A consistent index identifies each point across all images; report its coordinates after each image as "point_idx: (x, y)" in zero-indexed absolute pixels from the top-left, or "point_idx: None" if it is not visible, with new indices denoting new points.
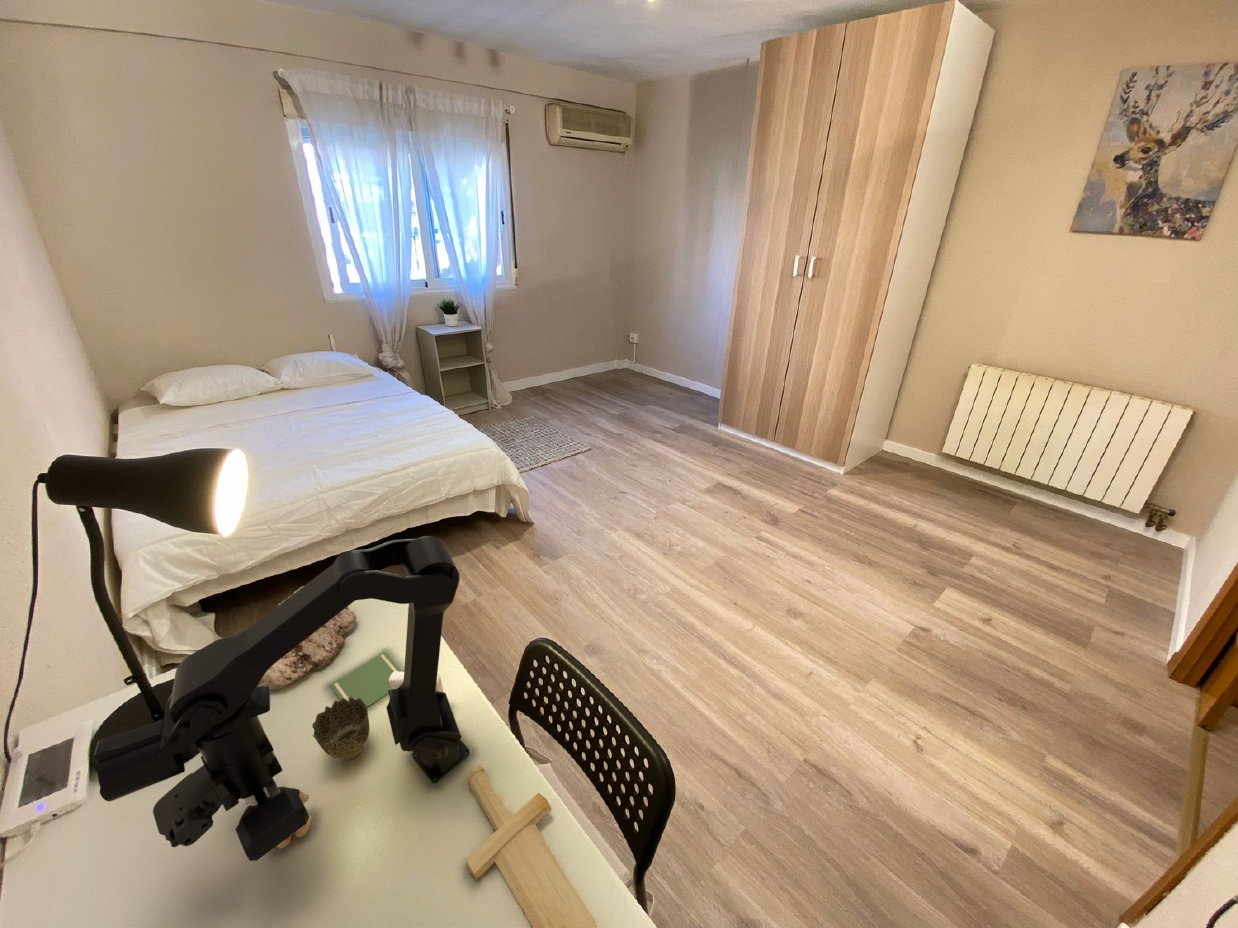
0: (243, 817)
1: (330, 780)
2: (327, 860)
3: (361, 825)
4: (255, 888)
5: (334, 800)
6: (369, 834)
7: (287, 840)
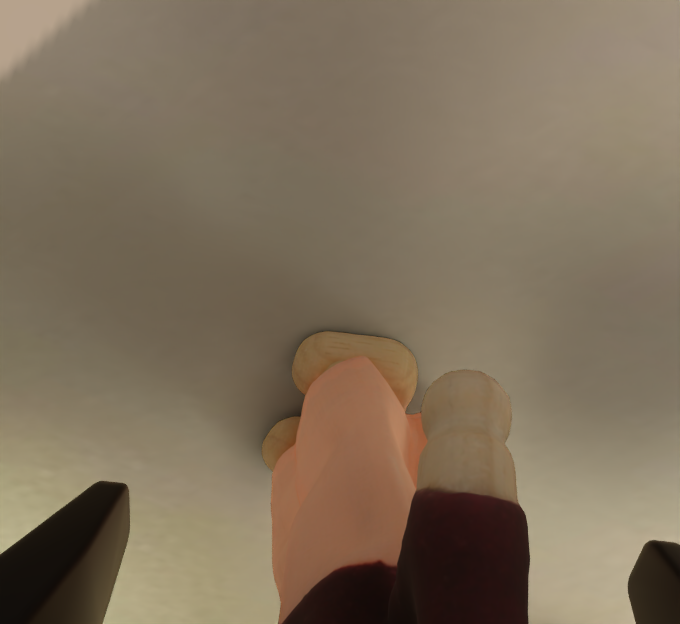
0: (467, 603)
1: None
2: (36, 441)
3: None
4: (202, 144)
5: None
6: None
7: (300, 388)
